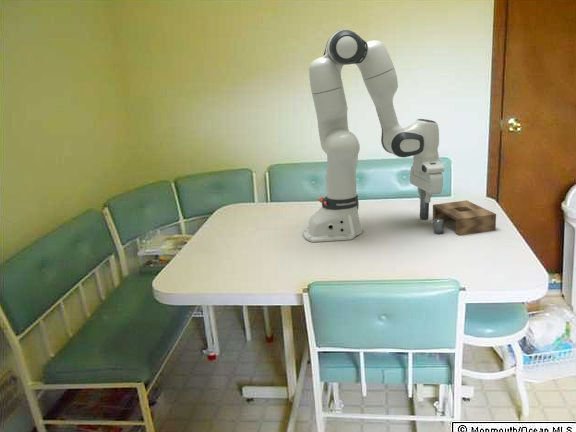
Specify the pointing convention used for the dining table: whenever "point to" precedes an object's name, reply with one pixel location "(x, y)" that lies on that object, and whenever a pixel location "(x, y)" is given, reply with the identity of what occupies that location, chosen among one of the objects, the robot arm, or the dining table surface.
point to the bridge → (466, 216)
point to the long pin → (423, 206)
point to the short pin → (438, 226)
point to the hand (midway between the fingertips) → (424, 200)
